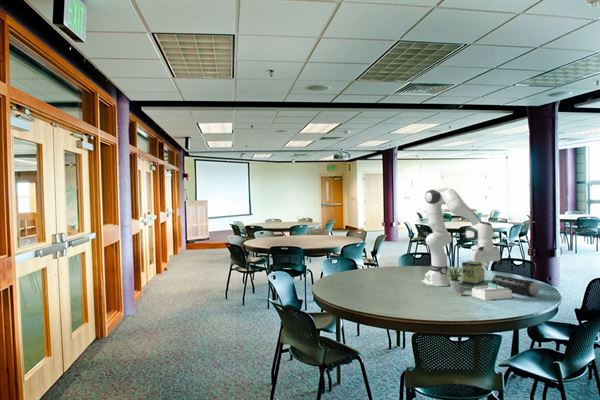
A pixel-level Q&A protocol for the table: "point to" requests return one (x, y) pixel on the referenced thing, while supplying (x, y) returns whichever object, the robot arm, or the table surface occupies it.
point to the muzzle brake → (517, 285)
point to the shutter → (494, 286)
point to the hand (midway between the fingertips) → (485, 268)
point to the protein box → (472, 273)
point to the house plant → (454, 278)
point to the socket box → (491, 293)
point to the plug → (460, 290)
